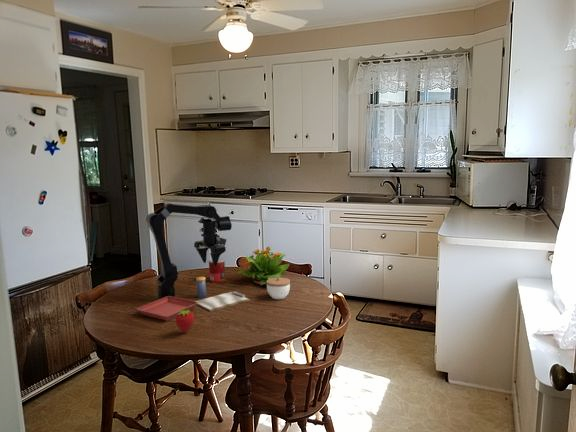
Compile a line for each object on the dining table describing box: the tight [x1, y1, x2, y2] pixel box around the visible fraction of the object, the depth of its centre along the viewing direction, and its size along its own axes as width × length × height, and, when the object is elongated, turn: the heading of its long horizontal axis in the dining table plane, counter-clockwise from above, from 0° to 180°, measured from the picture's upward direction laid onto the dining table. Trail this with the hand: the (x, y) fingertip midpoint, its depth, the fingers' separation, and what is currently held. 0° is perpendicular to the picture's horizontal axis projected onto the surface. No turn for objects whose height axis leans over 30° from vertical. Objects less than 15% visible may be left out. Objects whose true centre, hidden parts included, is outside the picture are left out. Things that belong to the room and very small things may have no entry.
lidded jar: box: [265, 276, 291, 300], centre depth 199 cm, size 11×11×9 cm
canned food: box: [208, 257, 226, 284], centre depth 227 cm, size 8×8×11 cm
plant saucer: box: [136, 296, 198, 322], centre depth 184 cm, size 18×18×3 cm
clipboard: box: [194, 290, 251, 313], centre depth 196 cm, size 20×15×2 cm
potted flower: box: [237, 246, 290, 286], centre depth 224 cm, size 25×24×18 cm
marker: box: [195, 276, 207, 299], centre depth 202 cm, size 4×4×9 cm
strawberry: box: [175, 307, 195, 334], centre depth 162 cm, size 6×8×10 cm
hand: (209, 264), depth 210 cm, fingers open, 9 cm apart
